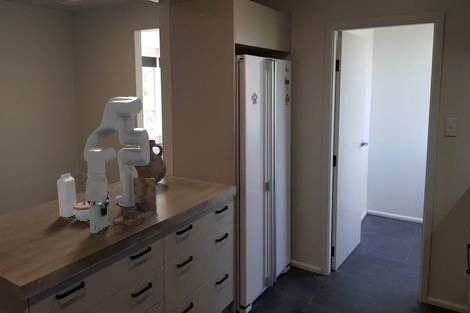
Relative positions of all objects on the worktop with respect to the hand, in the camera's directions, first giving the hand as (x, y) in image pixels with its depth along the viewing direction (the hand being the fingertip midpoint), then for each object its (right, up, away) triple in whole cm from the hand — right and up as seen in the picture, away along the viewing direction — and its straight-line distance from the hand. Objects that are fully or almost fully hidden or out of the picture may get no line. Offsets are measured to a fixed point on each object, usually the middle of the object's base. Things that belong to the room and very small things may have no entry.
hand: (99, 214), depth 187 cm
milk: (-23, -4, +20) cm, 31 cm away
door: (0, -7, +1) cm, 7 cm away
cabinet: (+13, -4, +17) cm, 22 cm away
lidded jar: (-12, -5, +15) cm, 19 cm away
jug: (+6, +8, +86) cm, 87 cm away
